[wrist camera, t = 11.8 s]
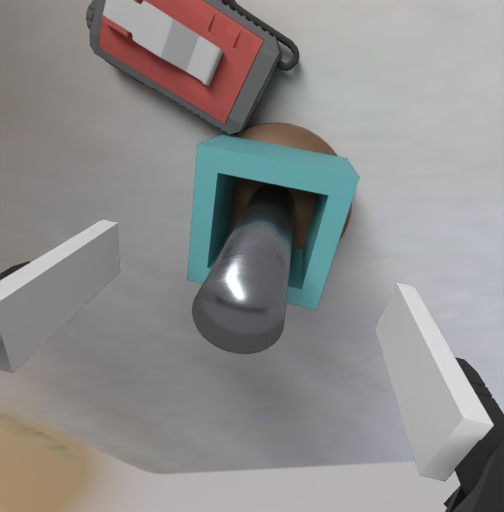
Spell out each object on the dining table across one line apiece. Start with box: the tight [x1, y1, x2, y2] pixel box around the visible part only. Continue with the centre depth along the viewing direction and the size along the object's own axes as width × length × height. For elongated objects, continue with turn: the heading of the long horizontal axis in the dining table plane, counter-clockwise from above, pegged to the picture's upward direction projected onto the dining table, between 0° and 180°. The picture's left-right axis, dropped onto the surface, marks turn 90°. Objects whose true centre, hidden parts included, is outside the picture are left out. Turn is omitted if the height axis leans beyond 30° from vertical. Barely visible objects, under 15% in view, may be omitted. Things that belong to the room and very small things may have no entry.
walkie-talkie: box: [86, 0, 299, 135], centre depth 19 cm, size 9×4×20 cm
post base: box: [227, 123, 352, 250], centre depth 25 cm, size 12×12×2 cm
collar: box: [187, 134, 359, 309], centre depth 22 cm, size 9×9×6 cm
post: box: [192, 184, 295, 354], centre depth 18 cm, size 4×4×14 cm
